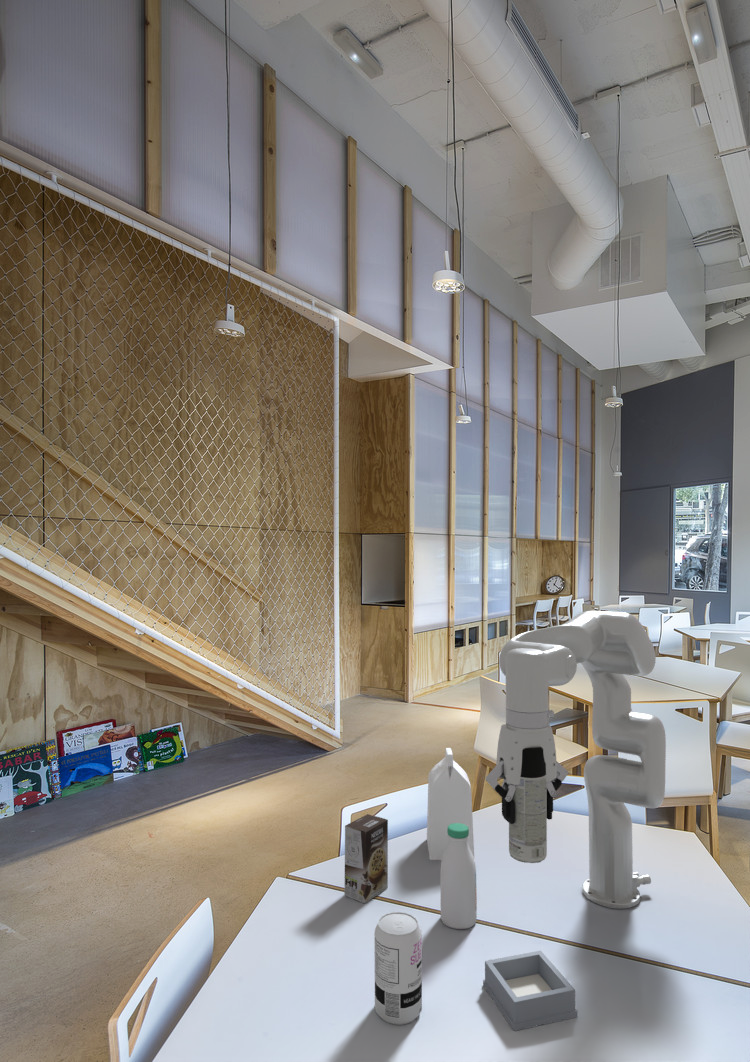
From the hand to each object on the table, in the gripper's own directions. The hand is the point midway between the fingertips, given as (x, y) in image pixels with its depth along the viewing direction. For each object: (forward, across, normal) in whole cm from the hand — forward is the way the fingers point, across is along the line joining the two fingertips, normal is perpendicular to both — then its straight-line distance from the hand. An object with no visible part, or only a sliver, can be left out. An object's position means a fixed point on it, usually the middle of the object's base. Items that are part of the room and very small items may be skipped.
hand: (527, 818), depth 119 cm
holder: (+32, 0, 0) cm, 32 cm away
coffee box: (+32, +18, -44) cm, 57 cm away
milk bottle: (+32, +2, -27) cm, 42 cm away
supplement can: (+32, +23, -4) cm, 40 cm away
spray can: (+7, 0, 0) cm, 7 cm away
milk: (+32, -9, -59) cm, 67 cm away
